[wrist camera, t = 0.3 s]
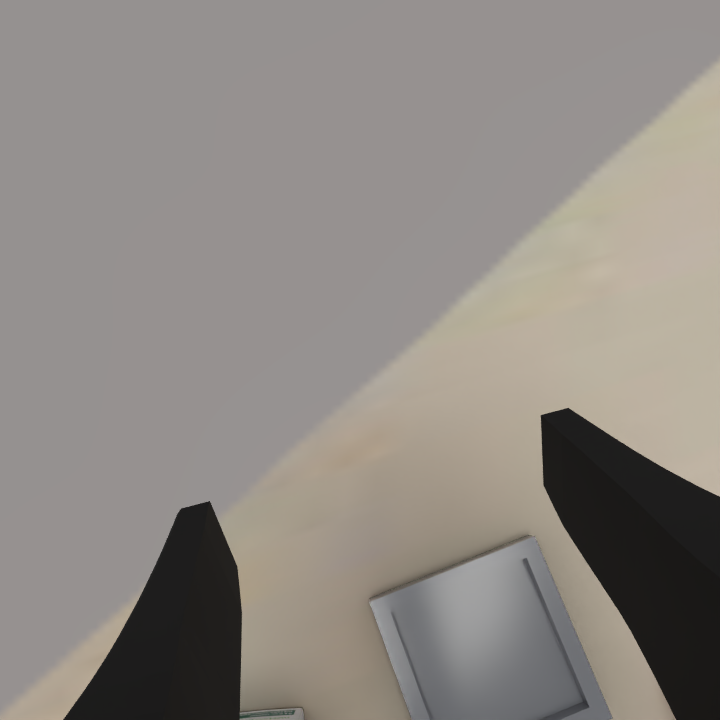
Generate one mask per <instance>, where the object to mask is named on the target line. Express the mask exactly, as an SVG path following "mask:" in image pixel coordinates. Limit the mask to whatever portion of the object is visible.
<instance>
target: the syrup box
mask: <svg viewBox="0 0 720 720" xmlns="http://www.w3.org/2000/svg"><path fill="white" fill-rule="evenodd" d="M240 720H304V712H303V709H302V708H288V709H271V710H261V711H249V712H240Z"/></svg>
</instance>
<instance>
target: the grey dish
mask: <svg viewBox="0 0 720 720" xmlns="http://www.w3.org/2000/svg"><path fill="white" fill-rule="evenodd" d="M369 602H370V605H371V608H372V611H373V614H374V616H375V619H376V622H377V625H378V627H379V630H380V633H381V636H382V638H383V641H384V644H385V647H386V649H387V652H388V655H389V658H390V660H391V663H392V666H393V669H394V672H395V674H396V677H397V680H398V683H399V685H400V688H401V691H402V694H403V696H404V699H405V702H406V705H407V707H408V710H409V713H410V716H411V719H412V720H610V719H612V716H611V713H610V711H609V709H608V706H607V704H606V702H605V699H604V697H603V695H602V692H601V690H600V688H599V685H598V683H597V681H596V678H595V676H594V674H593V671H592V669H591V666H590V664H589V662H588V659H587V657H586V655H585V652H584V650H583V648H582V645H581V643H580V641H579V638H578V636H577V634H576V631H575V629H574V627H573V624H572V622H571V620H570V617H569V615H568V613H567V610H566V608H565V606H564V603H563V601H562V599H561V596H560V594H559V592H558V589H557V587H556V585H555V582H554V580H553V578H552V575H551V573H550V571H549V568H548V566H547V563H546V561H545V559H544V556H543V554H542V552H541V549H540V547H539V545H538V542H537V540H536V538H535V536H531V535H528V536H525V537H523V538H520V539H517V540H515V541H512V542H510V543H507V544H505V545H502V546H500V547H497V548H495V549H492V550H490V551H487V552H485V553H482V554H480V555H477V556H475V557H472V558H470V559H467V560H465V561H462V562H460V563H457V564H455V565H452V566H450V567H447V568H445V569H442V570H440V571H437V572H435V573H432V574H430V575H427V576H424V577H422V578H419V579H417V580H414V581H412V582H409V583H407V584H404V585H402V586H399V587H397V588H394V589H392V590H389V591H387V592H384V593H382V594H379V595H377V596H374V597H372V598H370V601H369Z"/></svg>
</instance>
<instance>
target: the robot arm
mask: <svg viewBox="0 0 720 720" xmlns="http://www.w3.org/2000/svg"><path fill="white" fill-rule="evenodd" d="M541 429H542V456H543V482H544V487H545V489H546V491H547V493H548V495H549V498H550V500H551V502H552V504H553V506H554V508H555V510H556V512H557V514H558V516H559V518H560V520H561V522H562V524H563V526H564V528H565V529H566V531H567V532H568V534H569V535H570V537H571V539H572V540H573V542H574V543H575V545H576V546H577V548H578V549H579V551H580V552H581V554H582V556H583V557H584V559H585V560H586V562H587V563H588V565H589V566H590V568H591V569H592V571H593V572H594V574H595V575H596V577H597V578H598V580H599V581H600V583H601V584H602V586H603V588H604V589H605V591H606V592H607V594H608V595H609V597H610V598H611V600H612V601H613V603H614V604H615V606H616V607H617V609H618V610H619V612H620V614H621V615H622V617H623V619H624V620H625V622H626V624H627V625H628V627H629V629H630V630H631V632H632V634H633V636H634V638H635V640H636V642H637V643H638V645H639V647H640V649H641V651H642V653H643V655H644V657H645V659H646V661H647V663H648V664H649V666H650V668H651V670H652V672H653V674H654V676H655V678H656V680H657V682H658V684H659V686H660V688H661V690H662V692H663V694H664V696H665V698H666V700H667V702H668V704H669V706H670V708H671V710H672V712H673V714H674V716H675V718H676V720H720V497H719V496H717V495H715V494H713V493H711V492H709V491H707V490H704V489H702V488H700V487H698V486H696V485H694V484H693V483H691V482H689V481H687V480H685V479H683V478H681V477H679V476H678V475H676V474H674V473H672V472H670V471H668V470H666V469H665V468H663V467H661V466H659V465H658V464H656V463H654V462H652V461H651V460H649V459H647V458H646V457H644V456H642V455H641V454H639V453H637V452H636V451H634V450H633V449H631V448H629V447H628V446H626V445H625V444H623V443H621V442H620V441H618V440H617V439H615V438H614V437H612V436H610V435H609V434H607V433H606V432H604V431H603V430H601V429H600V428H598V427H597V426H595V425H594V424H592V423H591V422H589V421H587V420H586V419H584V418H583V417H581V416H580V415H578V414H577V413H575V412H574V411H572V410H570V409H569V408H566V409H563V410H559V411H555V412H551V413H547V414H543V415H541ZM241 632H242V610H241V599H240V588H239V579H238V569H237V565H236V563H235V560H234V558H233V555H232V553H231V551H230V548H229V546H228V544H227V541H226V539H225V536H224V534H223V532H222V529H221V527H220V524H219V522H218V520H217V517H216V515H215V512H214V510H213V508H212V505H211V503H210V501H209V502H205V503H201V504H198V505H194V506H190V507H186V508H182V509H181V510H180V511H179V513H178V514H177V517H176V519H175V521H174V524H173V526H172V528H171V531H170V533H169V536H168V538H167V540H166V543H165V545H164V547H163V550H162V552H161V554H160V557H159V558H158V561H157V563H156V565H155V567H154V569H153V571H152V573H151V575H150V578H149V580H148V582H147V584H146V586H145V588H144V590H143V592H142V594H141V596H140V598H139V600H138V602H137V604H136V606H135V607H134V609H133V611H132V613H131V615H130V617H129V618H128V620H127V622H126V624H125V626H124V628H123V629H122V631H121V633H120V635H119V637H118V638H117V640H116V642H115V643H114V645H113V647H112V648H111V650H110V652H109V653H108V655H107V657H106V658H105V660H104V661H103V663H102V665H101V666H100V668H99V669H98V671H97V672H96V674H95V675H94V677H93V678H92V680H91V682H90V683H89V684H88V686H87V687H86V689H85V690H84V692H83V693H82V694H81V696H80V697H79V699H78V700H77V701H76V703H75V704H74V706H73V707H72V708H71V710H70V711H69V713H68V714H67V715H66V717H65V718H64V719H63V720H240V677H241Z"/></svg>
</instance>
